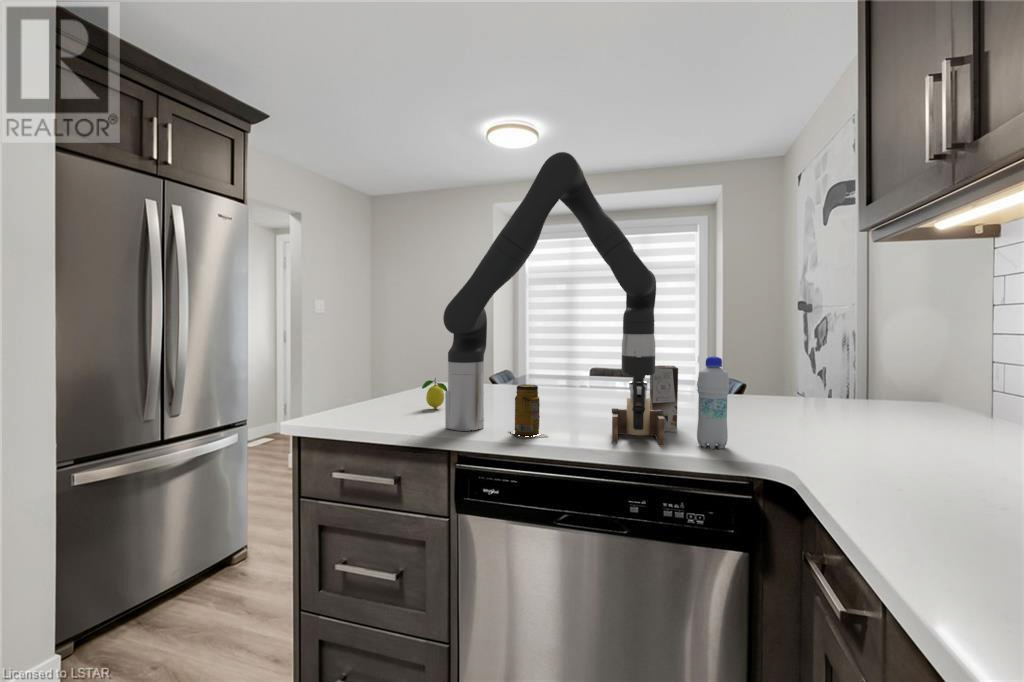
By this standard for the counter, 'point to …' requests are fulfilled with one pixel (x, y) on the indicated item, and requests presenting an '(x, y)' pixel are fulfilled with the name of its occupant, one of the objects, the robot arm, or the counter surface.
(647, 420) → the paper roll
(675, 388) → the coffee box
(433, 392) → the lemon
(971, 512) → the counter surface
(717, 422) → the bottle
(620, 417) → the holder
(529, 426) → the condiment
